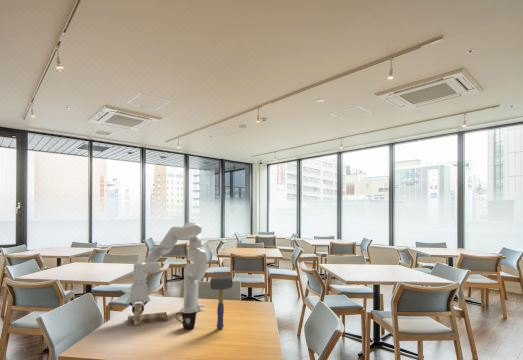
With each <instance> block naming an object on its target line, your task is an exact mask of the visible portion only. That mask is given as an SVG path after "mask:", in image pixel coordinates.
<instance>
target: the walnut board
mask: <svg viewBox="0 0 523 360" xmlns="http://www.w3.org/2000/svg"><path fill="white" fill-rule="evenodd" d="M141 314H142V322H141V324H140V325H142V324H152V323H153V324H154V323H160V322H167V321H169V320H168V319H169V317H168V313H167V312H166V311H163V312H154V313H152V312H151V313H141ZM134 317H135V316H134V314H132V315H127V326H132V325H134ZM134 326H135V325H134Z"/></svg>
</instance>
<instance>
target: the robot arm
mask: <svg viewBox="0 0 523 360" xmlns="http://www.w3.org/2000/svg"><path fill="white" fill-rule="evenodd" d="M202 231H203V228H202V226H201V225H200V224H199V223H197V222H195V223H194V222H186V223H184V225H183V226H172V227H170V228H169V230H168V231H167V233H166V234H165V236H164V237H163V238H162V240H161V241H160V243H159V245H157V246H156V247H155V248H154V249H152V251H150V252H149V254H148V255H147V256H146V258H145V259H144V261H137V262H135V263H134V264H133V275H132V284H131V285H130V291H129V292H130V293H129V297H128V298H127V300H126V304H128V305H130V306H131V308H132V309H131V312H132V315H134V313H135V303H137V302H138V303H142V313H141V314H144V311H145V305H147V304H148V303H149V302H151V299H150V297H149V295H148V283H149V280H147V274H148V275H149V274H151V275H153V274H154V275H155V274H157V273H158V272H159V271H161V265H160V263H159V262H158V261H159V259H160V258H162V257H163V256H164V255H166V254H169V253H170V252H172V250H173V249H174V247H175V245H176V244H177V242H178V241H183V240H187V239H188V249H187V260H189V261H190V262H191V263H187V264H185V266H184V269H183V279H184V282H183V283H184V287H183V288H184V289H183V292H184V293H183V307H182V308H181V309H180V313H182V310H184V309H190V308H191V309H196V310H197V313H198V312H200V310H201V308H205V306H206V305H205V304H204V303H199V281H201V280H202V279H203V278H204V277H205V275H206V269H207V262H208V255H207V252H206V250H204V249H202V235H201V233H202Z"/></svg>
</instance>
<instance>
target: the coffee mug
mask: <svg viewBox="0 0 523 360" xmlns="http://www.w3.org/2000/svg"><path fill="white" fill-rule="evenodd" d="M197 313H198V312H197V310H196V309H191V308H190V309H184V310H182V312H176V314H175V319H176V320H177V321H178V322H180V323H181V324H182V329H183V330H184V331H193V330H194V329H195V325H196V319H197ZM178 314H180V315H181V317H182V321H181V320H180V319H179V318H178V317H177V315H178Z"/></svg>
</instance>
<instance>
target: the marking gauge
mask: <svg viewBox="0 0 523 360" xmlns="http://www.w3.org/2000/svg"><path fill="white" fill-rule="evenodd" d="M134 306H135V313H134V314H133V315H134V316H135V317H134V326H136V325H137V326H138V325H142V324H141V322H142V314H143V313H142V302H138V303H137V302H135V304H134Z"/></svg>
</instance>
